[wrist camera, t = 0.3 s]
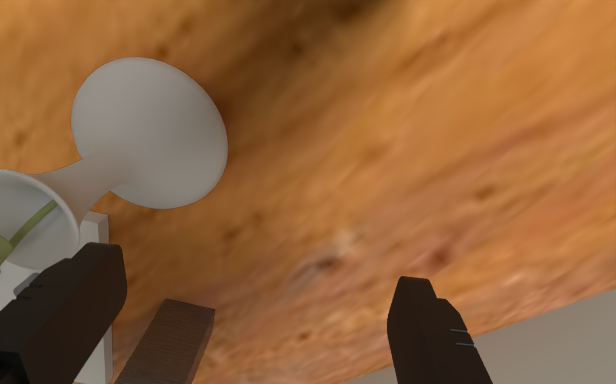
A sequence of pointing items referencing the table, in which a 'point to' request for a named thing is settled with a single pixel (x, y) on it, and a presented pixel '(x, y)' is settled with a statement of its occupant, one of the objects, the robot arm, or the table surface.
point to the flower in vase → (116, 158)
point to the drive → (170, 346)
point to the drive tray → (13, 279)
